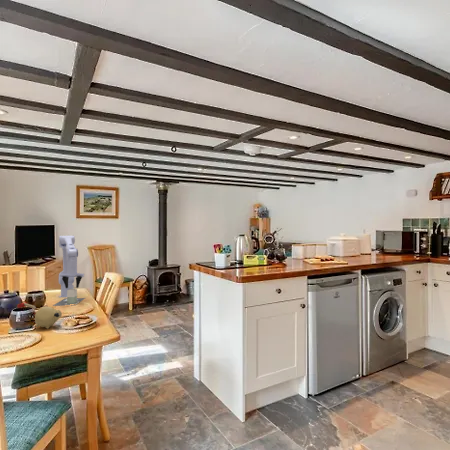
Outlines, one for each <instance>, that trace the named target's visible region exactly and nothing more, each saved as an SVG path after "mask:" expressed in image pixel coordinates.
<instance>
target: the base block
mask: <svg viewBox="0 0 450 450" xmlns="http://www.w3.org/2000/svg"><path fill="white" fill-rule="evenodd" d="M66 298H67V304H75V303H77V298H78V295H77V296H75V297H66Z"/></svg>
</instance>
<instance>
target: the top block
mask: <svg viewBox="0 0 450 450" xmlns="http://www.w3.org/2000/svg"><path fill="white" fill-rule="evenodd" d="M75 296H77V297H78V288H74V289H69V290H67V297H75ZM67 297H66V298H67Z"/></svg>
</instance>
